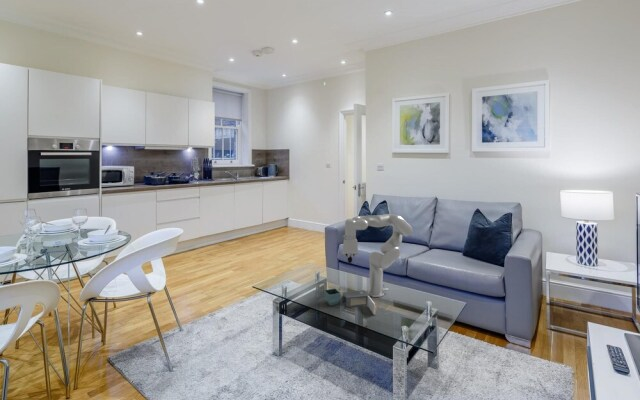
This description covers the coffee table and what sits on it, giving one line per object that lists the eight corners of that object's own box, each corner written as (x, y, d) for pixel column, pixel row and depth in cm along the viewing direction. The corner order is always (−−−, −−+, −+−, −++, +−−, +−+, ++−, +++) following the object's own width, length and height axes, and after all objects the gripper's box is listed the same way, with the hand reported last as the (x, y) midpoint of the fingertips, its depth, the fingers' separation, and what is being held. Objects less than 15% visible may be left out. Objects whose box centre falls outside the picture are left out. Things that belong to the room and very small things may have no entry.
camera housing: (363, 299, 247) (364, 289, 246) (368, 305, 239) (368, 294, 237) (340, 301, 243) (341, 291, 242) (344, 307, 235) (344, 297, 233)
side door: (367, 305, 238) (367, 295, 237) (369, 305, 238) (370, 295, 237) (373, 314, 224) (374, 304, 223) (376, 314, 225) (376, 304, 224)
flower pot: (323, 302, 242) (323, 290, 241) (335, 300, 246) (335, 288, 244) (328, 307, 234) (329, 295, 233) (340, 305, 238) (340, 293, 236)
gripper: (340, 238, 237) (339, 264, 240) (362, 238, 238) (361, 264, 241) (339, 235, 245) (338, 260, 247) (360, 235, 246) (359, 260, 248)
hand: (349, 262), depth 244 cm, fingers closed
